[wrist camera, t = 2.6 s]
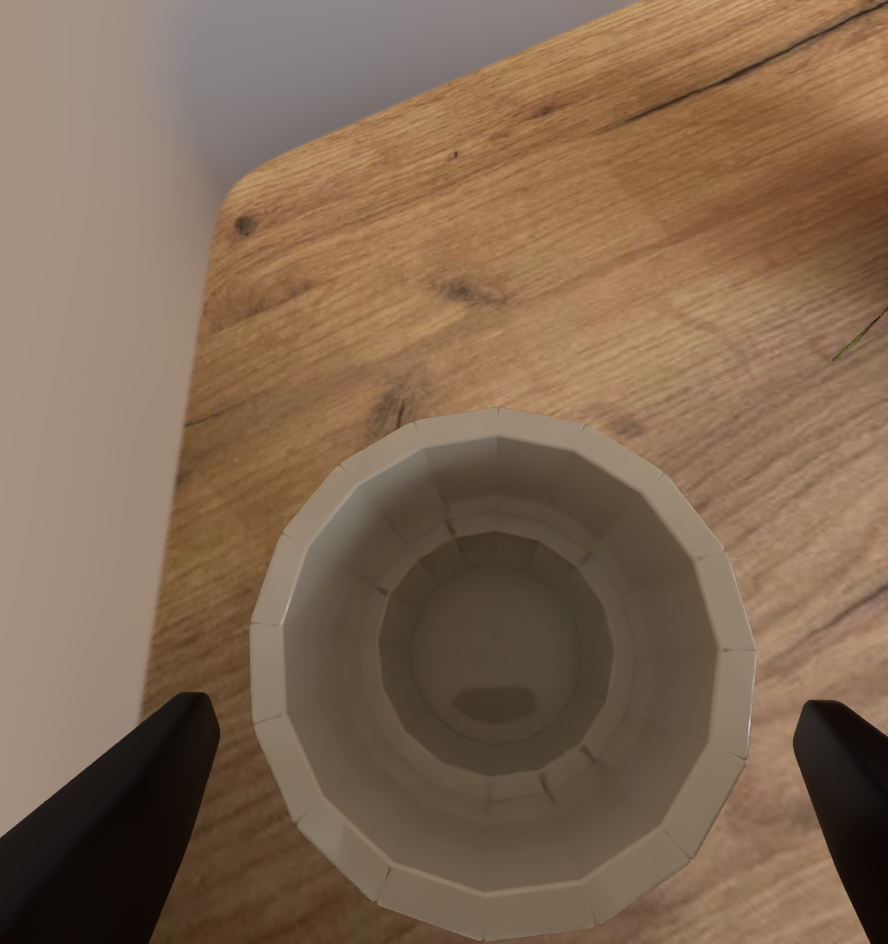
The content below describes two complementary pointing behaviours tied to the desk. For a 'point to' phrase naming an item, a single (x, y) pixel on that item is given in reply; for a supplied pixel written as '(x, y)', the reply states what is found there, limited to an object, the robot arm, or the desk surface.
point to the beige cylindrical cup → (502, 674)
